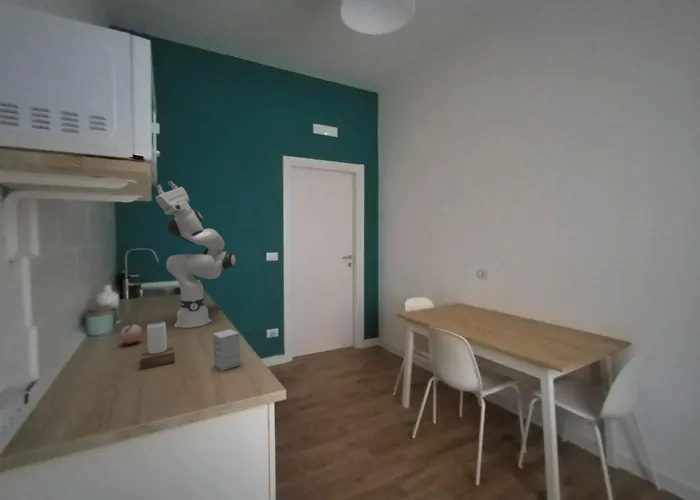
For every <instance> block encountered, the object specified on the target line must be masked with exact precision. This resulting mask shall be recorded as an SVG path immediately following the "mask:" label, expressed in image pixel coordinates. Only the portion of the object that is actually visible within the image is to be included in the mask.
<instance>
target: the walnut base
mask: <svg viewBox="0 0 700 500" xmlns="http://www.w3.org/2000/svg"><path fill="white" fill-rule="evenodd" d="M174 350H175V349H174V348H173V344H169V345H167V350H166V351H165V352H163V353H160V354H149V353H148V348H147V349H141V350H140V366H141V368H140V370H146V369H152V368H157V367H161V366H167V365H172V364H175V363H176V362H175V361H176V360H175V351H174Z"/></svg>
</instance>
